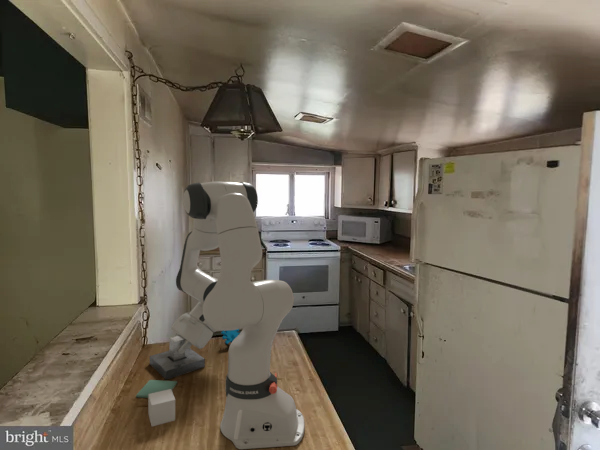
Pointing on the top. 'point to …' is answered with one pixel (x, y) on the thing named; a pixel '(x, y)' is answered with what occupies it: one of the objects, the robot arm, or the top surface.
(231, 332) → the gear
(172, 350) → the steel bar
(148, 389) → the rubber mat
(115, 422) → the top surface
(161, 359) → the socket block
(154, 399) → the plain white cube
